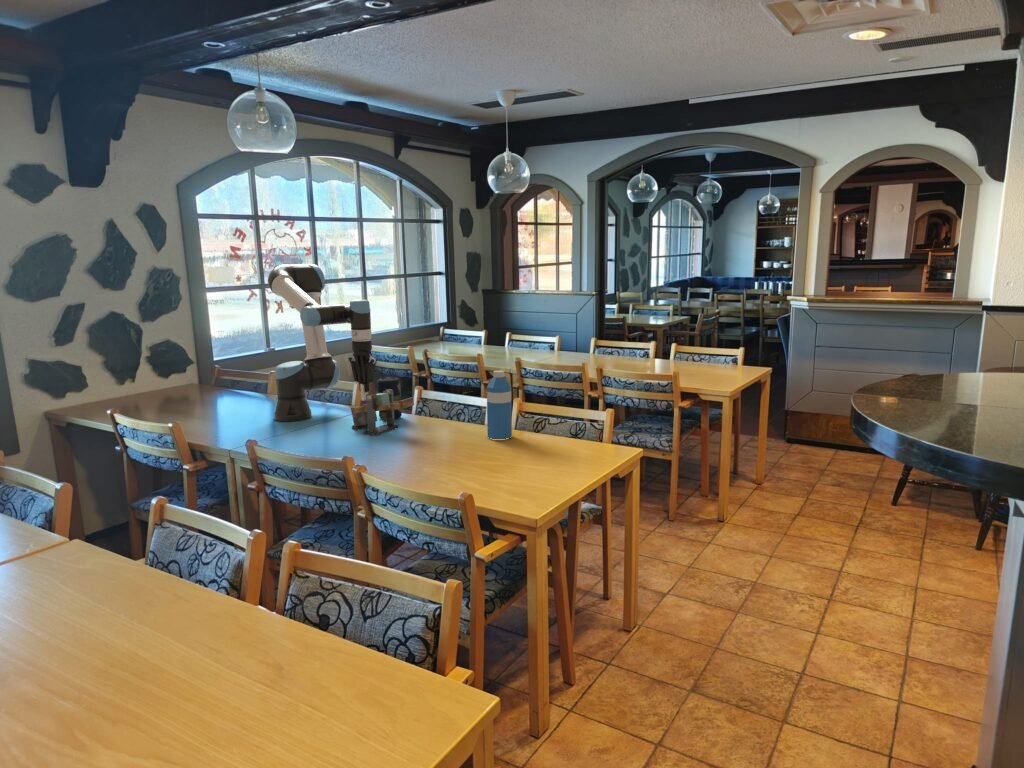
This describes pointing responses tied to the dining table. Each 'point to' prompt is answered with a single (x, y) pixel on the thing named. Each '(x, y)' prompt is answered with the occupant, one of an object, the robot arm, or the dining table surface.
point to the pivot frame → (371, 416)
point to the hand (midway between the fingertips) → (364, 399)
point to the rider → (382, 398)
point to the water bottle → (499, 407)
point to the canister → (393, 385)
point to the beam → (378, 409)
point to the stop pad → (359, 426)
